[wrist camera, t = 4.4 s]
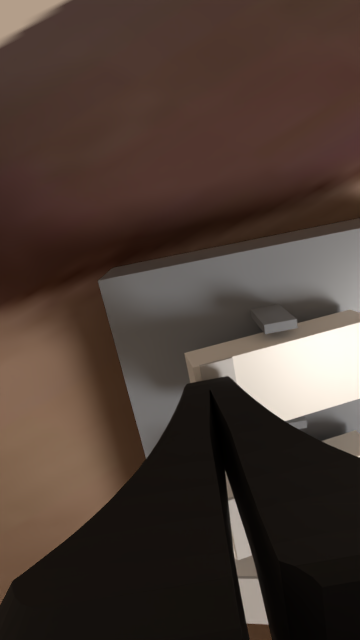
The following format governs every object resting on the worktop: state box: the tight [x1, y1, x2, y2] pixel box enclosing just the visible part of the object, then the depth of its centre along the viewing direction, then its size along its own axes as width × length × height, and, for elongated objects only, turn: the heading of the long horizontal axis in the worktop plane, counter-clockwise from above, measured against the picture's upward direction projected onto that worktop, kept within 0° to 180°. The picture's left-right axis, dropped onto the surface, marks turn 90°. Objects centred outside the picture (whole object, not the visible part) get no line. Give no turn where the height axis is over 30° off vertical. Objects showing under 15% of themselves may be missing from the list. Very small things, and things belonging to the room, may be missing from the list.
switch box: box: [98, 218, 360, 472], centre depth 14 cm, size 12×18×5 cm, turn 11°
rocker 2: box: [184, 310, 360, 421], centre depth 11 cm, size 6×3×1 cm, turn 101°
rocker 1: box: [235, 556, 268, 624], centre depth 14 cm, size 6×3×1 cm, turn 101°
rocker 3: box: [225, 430, 360, 560], centre depth 13 cm, size 6×3×1 cm, turn 101°
